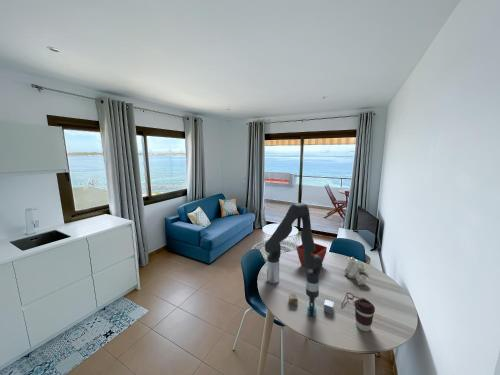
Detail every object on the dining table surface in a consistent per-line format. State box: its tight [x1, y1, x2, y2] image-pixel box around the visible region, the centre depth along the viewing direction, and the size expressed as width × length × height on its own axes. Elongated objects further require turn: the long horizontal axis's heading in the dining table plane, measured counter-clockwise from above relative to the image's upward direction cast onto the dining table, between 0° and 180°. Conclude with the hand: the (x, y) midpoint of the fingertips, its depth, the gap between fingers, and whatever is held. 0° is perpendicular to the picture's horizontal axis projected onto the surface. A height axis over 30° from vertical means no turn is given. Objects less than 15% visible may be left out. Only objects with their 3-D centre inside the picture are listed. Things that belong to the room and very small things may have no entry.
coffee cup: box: [354, 298, 376, 332], centre depth 114 cm, size 10×10×15 cm
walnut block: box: [288, 292, 299, 307], centre depth 135 cm, size 5×5×5 cm
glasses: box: [340, 292, 365, 309], centre depth 130 cm, size 13×13×5 cm
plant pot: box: [296, 242, 328, 267], centre depth 178 cm, size 19×19×17 cm
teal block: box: [306, 301, 317, 317], centre depth 126 cm, size 5×5×5 cm
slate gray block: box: [323, 299, 335, 315], centre depth 128 cm, size 5×5×5 cm
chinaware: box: [343, 256, 369, 286], centre depth 160 cm, size 28×17×17 cm, turn 160°
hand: (311, 310), depth 126 cm, fingers open, 8 cm apart
